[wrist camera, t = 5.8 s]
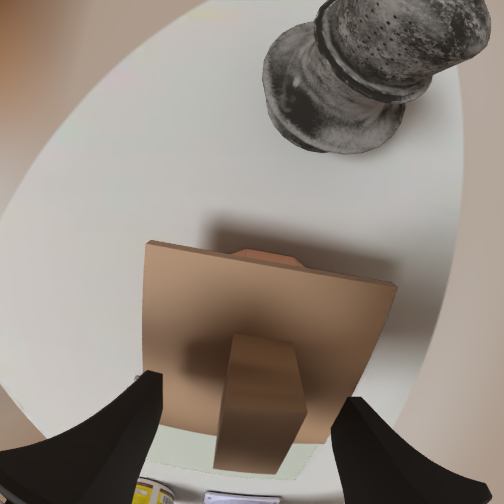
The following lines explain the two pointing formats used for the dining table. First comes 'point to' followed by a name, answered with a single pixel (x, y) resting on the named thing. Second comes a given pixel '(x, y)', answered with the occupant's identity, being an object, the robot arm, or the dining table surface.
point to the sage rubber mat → (203, 450)
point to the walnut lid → (255, 348)
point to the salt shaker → (365, 67)
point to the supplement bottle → (152, 493)
